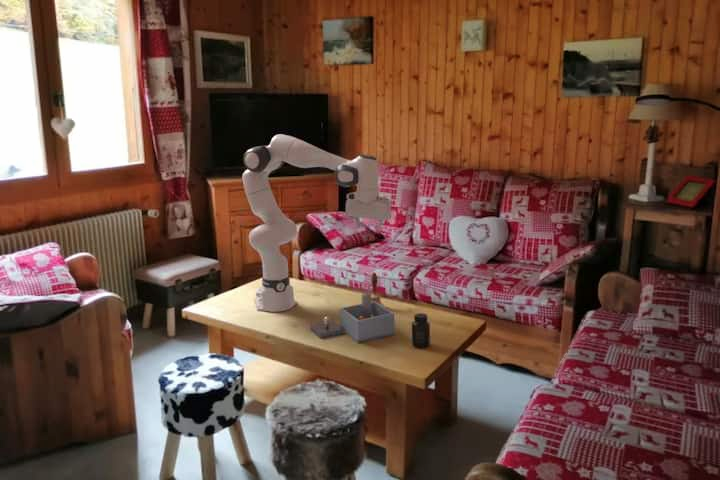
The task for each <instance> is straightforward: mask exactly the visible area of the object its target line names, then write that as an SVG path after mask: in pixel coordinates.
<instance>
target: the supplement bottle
mask: <svg viewBox="0 0 720 480" xmlns="http://www.w3.org/2000/svg"><path fill="white" fill-rule="evenodd" d="M413 318H414V320H413V321H412V324H411V344H412V346H413V347H414V348H416V349H426V348H429V347H430V345H431V324H430V322H429V321H428V320H429V319H428V314H426V313H423V312H421V313H419V312H418V313H416V314H414V317H413Z"/></svg>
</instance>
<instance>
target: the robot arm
mask: <svg viewBox="0 0 720 480" xmlns="http://www.w3.org/2000/svg"><path fill="white" fill-rule="evenodd" d="M242 160H243V165H244V167H245V168H246V169H245V170H244V172H243V173H242V177H241V178H242V184H243V187H244V188H243V189H244V193H245V196H246V197H247V201H248V204H249V206H250V210H251V212H252V213H253V215H255V216H256V217H259V218H260V219H261V220H262V221H263V223H264V224H260V225H258V226H256V227H254V228H253V229H252V230H251V231H250V232H249V234H248V242H249V244H250V246H251V247H252V249H254V250H255V251H257V253H258V254H259V256H260V260H261V265H262V275H263V276H262V278H261V279H262V280H261V286H260V287H258V291H255V297H254V298H253V302H254V305H255V309H256V311H260V312H261V311H263V312H270V313H271V312H273V313H278V312H284V311H288V310H291V309H292V308H293V307H294V306H295V305H297V304H298V301H297V300H296V299H295V296H294V287H293V286H292V285H291V281H290V280H291V279H290V275H289V266H288V265H289V264H288V259H287V257H286V256H285V255H284V254H282V252H281V250H280V246H282V245H284V244H288V243H289V242H291V241H293V240H294V239H295V238H296V236H297V234H298V227H297V225H296V223H295V222H294V221H293V220H291V218H288V217H287V216H286V215H285V214H284V213H283V212H282V210H281V209H280V208H279V204H278V203H277V201H276V198H275V196H274V194H273V191H272V186H271V184H270V182H269V175H273V174H274V173H275V172H277V170H279V169H280V168H282V167H283V165H284V164H285V163H287V164H289V165H291V166H293V167H297V168H302V169H309V168H319V167H320V168H327V169H330V170H333V171H334V172H333V175H334V179H335V182H336V184H337V185H339V186H341V187H343V188H347V187H348V188H349V187H353V186H356V190H354V191H353V192H349V193H346V201H345V215H346V216H347V217H353V221H354V222H355V228H358V229H361V228H362V223H361V222H360V220H359V219H360V218H362V219H368V220H369V219H370V220H377V225H375V231H381V230H382V226H383V223H384V222H387V221H389V220H391V219H392V207H391V205H392V204H391V200H390V199H389V198H388V197H386V196H384V197H383V196H380V186H379V178H380V169H379V163H378V159H377V158H376V157H375V156H374V155H370V154H359V155H358V156H357V157H356V158H353V159H348V158H345V157H342V156H340V155H337V154H334V153H331V152H328V151H326V150H324V149H322V148H319V147H317V146H315V145H313V144H311V143H308V142H306V141H304V140H301V139H299V138H297V137H294V136H291V135H287V134H282V133H280V134H279V133H278V134H275V135H274V136H273V137H272V138H271V140H270V143H269V144H268V145H260V146H254V147H251V148H249V149H247V150H246V152H245V153H244V154H243V159H242Z"/></svg>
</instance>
